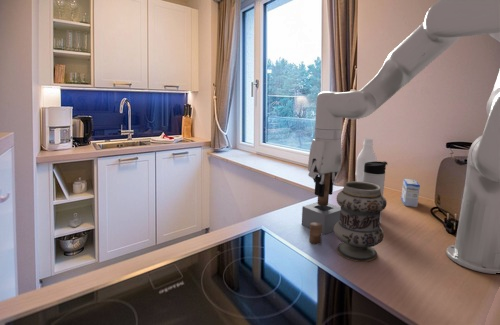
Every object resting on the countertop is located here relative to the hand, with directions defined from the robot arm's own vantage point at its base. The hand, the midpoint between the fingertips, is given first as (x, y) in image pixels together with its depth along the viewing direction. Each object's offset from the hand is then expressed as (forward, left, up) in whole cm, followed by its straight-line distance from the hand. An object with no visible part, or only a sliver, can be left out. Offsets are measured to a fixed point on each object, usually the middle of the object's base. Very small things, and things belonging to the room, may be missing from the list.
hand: (323, 194), depth 92 cm
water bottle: (+5, -29, -11) cm, 31 cm away
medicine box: (-5, -44, -11) cm, 46 cm away
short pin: (-6, +10, -10) cm, 16 cm away
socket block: (0, 0, -10) cm, 10 cm away
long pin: (0, 0, -3) cm, 3 cm away
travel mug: (-7, -15, -11) cm, 20 cm away
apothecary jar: (-16, +5, -11) cm, 20 cm away
